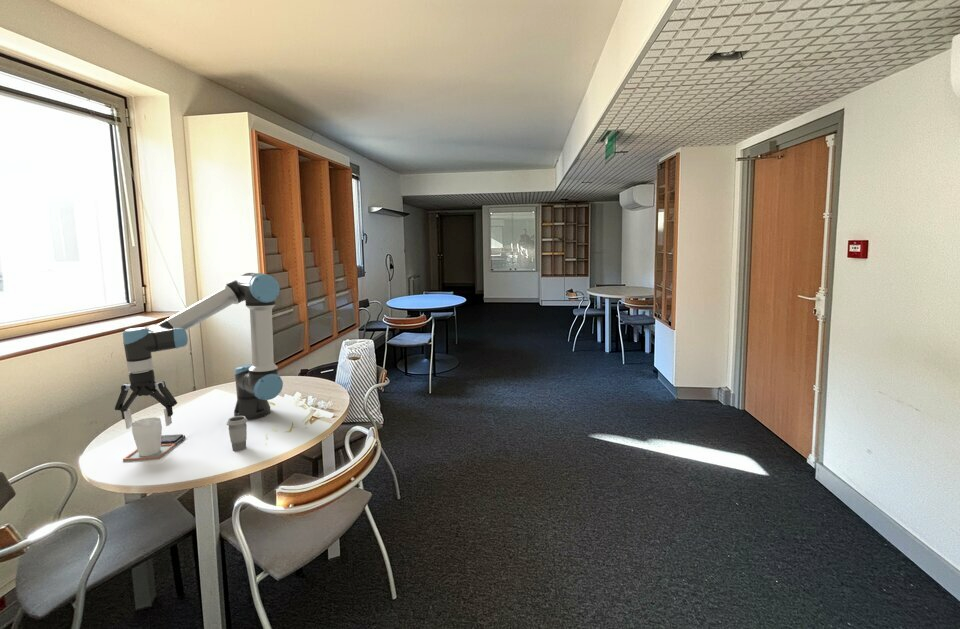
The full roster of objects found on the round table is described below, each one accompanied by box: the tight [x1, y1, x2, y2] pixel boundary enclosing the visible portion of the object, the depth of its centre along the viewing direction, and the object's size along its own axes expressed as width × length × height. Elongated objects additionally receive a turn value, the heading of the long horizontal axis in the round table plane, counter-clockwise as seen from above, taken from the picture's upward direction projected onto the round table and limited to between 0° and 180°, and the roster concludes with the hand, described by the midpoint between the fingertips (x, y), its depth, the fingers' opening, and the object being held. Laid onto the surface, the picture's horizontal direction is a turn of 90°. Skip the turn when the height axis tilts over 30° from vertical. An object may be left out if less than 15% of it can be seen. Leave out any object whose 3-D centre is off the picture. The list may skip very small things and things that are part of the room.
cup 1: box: [131, 417, 163, 456], centre depth 177 cm, size 9×9×12 cm
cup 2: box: [226, 416, 248, 452], centre depth 181 cm, size 7×7×12 cm
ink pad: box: [161, 433, 186, 446], centre depth 188 cm, size 12×8×2 cm, turn 97°
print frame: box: [122, 444, 177, 463], centre depth 178 cm, size 12×12×1 cm
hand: (149, 425), depth 177 cm, fingers open, 13 cm apart
